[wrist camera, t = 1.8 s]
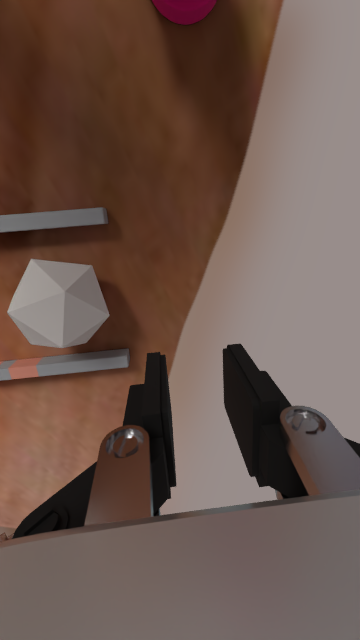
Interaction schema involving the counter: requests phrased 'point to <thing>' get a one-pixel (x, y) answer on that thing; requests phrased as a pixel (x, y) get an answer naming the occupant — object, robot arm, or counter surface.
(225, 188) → the counter surface
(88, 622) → the robot arm
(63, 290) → the die
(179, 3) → the pepper mill
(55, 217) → the track
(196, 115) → the counter surface
